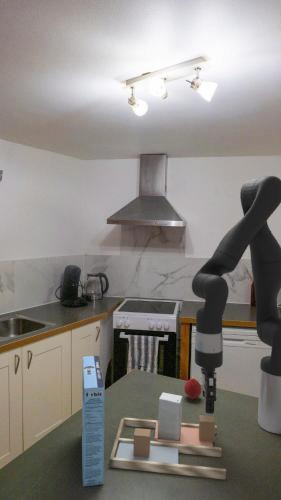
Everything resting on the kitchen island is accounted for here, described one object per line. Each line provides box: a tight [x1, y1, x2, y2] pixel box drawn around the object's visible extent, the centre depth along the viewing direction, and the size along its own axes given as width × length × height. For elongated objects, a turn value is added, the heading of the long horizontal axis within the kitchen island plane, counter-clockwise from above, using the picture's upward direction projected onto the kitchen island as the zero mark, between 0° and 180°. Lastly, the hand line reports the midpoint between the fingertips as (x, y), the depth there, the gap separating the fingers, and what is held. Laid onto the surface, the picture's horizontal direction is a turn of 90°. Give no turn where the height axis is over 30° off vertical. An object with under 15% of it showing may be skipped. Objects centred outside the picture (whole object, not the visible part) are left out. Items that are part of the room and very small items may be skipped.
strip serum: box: [154, 414, 216, 447], centre depth 91 cm, size 16×8×7 cm, turn 84°
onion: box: [183, 376, 202, 400], centre depth 114 cm, size 6×6×8 cm
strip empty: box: [115, 427, 179, 464], centre depth 84 cm, size 16×7×7 cm, turn 84°
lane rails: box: [109, 416, 227, 480], centre depth 88 cm, size 28×18×2 cm, turn 84°
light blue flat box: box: [81, 355, 106, 487], centre depth 83 cm, size 20×5×23 cm, turn 10°
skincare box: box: [157, 392, 183, 441], centre depth 92 cm, size 6×4×12 cm
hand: (208, 404), depth 90 cm, fingers open, 8 cm apart
